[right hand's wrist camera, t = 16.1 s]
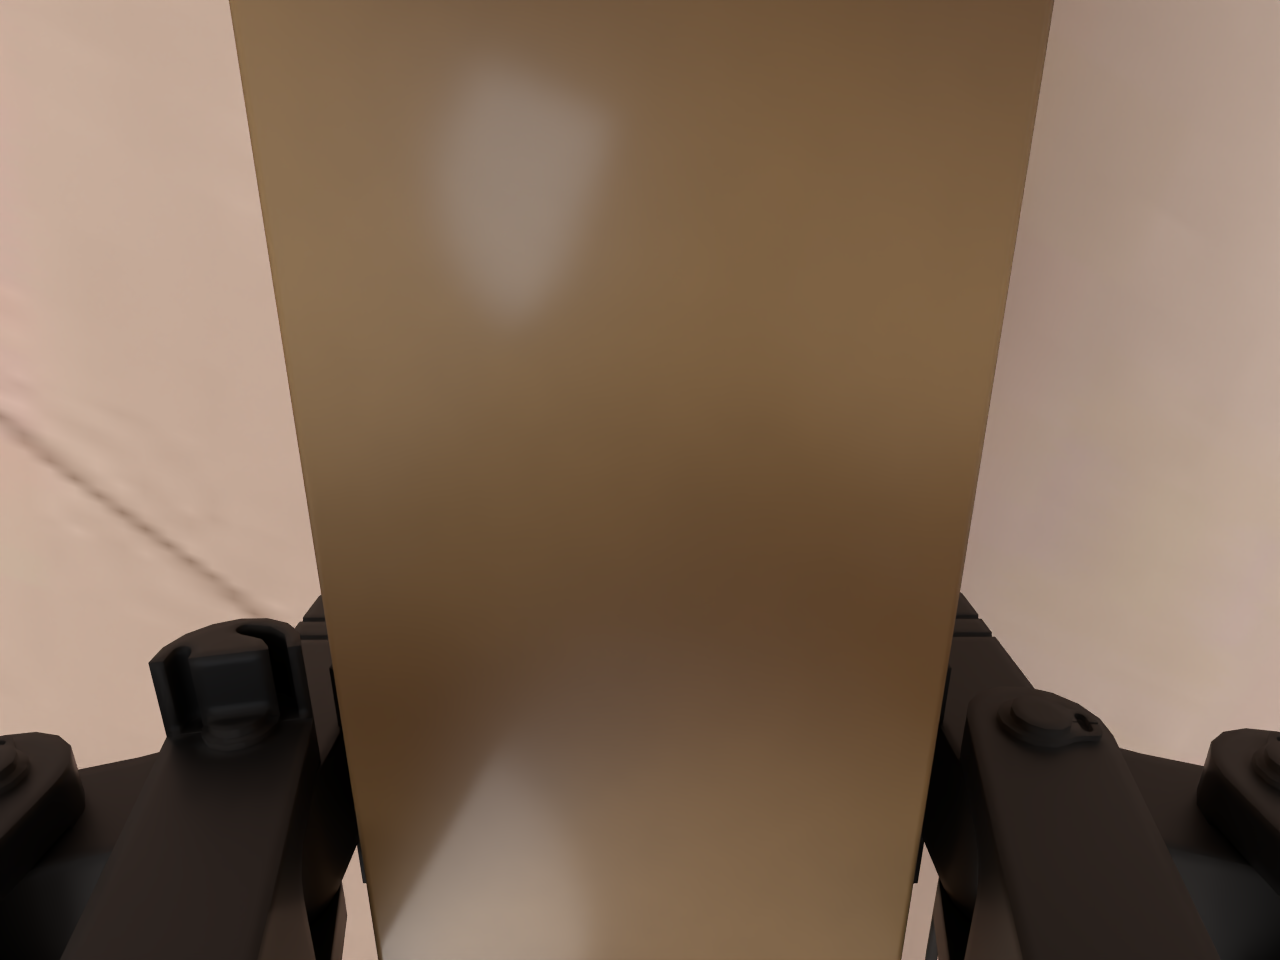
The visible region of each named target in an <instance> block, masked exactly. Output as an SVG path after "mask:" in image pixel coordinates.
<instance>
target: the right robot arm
mask: <svg viewBox="0 0 1280 960" xmlns="http://www.w3.org/2000/svg"><path fill="white" fill-rule="evenodd" d="M149 667H150V671H151V675H152V679H153V683H154V687H155V691H156V695H157V699H158V703H159V707H160V711H161V715H162V719H163V723H164V727H165V731H166V735H167V738H166V740H165V742H164V744H163V746H162V748H161V750H160V752H158V753H154V754H150V755H147V756H143V757H139V758H134V759H129V760H124V761H119V762H114V763H109V764H104V765H99V766H94V767H89V768H84V769H79V770H78V768H77V765H76V761H75V758H74V755H73V752H72V748H71V745H69V744H68V743H67V742H66V741H64V740H63V739H62V738H61V737H60V736H58V735H52V734H45V733H39V732H32V733H22V734H13V735H4V736H0V960H342V954H343V945H344V937H345V929H346V921H347V912H346V904H345V897H344V891H343V885H342V879H343V877H344V874H345V872H346V869H347V867H348V865H349V862H350V860H351V858H352V855H353V853H354V850H355V848H356V846H357V848H358V854H359V860H360V867H361V873H362V879H363V883H366V877H365V871H364V864H363V858H362V851H361V845H360V839H359V832H358V826H357V819H356V813H355V807H354V800H353V794H352V787H351V781H350V774H349V768H348V762H347V755H346V749H345V742H344V736H343V729H342V723H341V717H340V710H339V704H338V697H337V691H336V684H335V678H334V672H333V665H332V659H331V652H330V646H329V640H328V633H327V627H326V620H325V614H324V607H323V601H322V595H320V596H319V597H318V598H317V600H316V601H315V602H314V604H313V605H312V606H311V608H310V609H309V610H308V612H307V613H306V614H305V616H304V617H303V622H299V624H298V625H297V626H296V627H295V629H294V628H293V627H292V626H291V625H289V624H288V623H285V622H281V621H277V620H272V619H268V618H257V619H238V620H232V621H227V622H222V623H217V624H212V625H210V626H207V627H204V628H201V629H199V630H196V631H193V632H190V633H188V634H185V635H183V636H182V637H180V638H178V639H177V640H175V641H173V642H172V643H170V644H168V645H167V646H165V647H163V648H162V649H161V650H160V651H159V652H158V653H157V654H156V655H155V657H154V658H153V659H152V660H151V661H150V662H149ZM924 842H925V845H926V847H927V849H928V852H929V854H930V856H931V859H932V861H933V864H934V866H935V868H936V871H937V873H938V875H939V880H938V885H937V891H936V897H935V903H934V909H933V915H932V921H931V926H930V932H929V938H928V944H927V950H926V957H925V960H937V957H938V960H1280V732H1277V731H1266V730H1257V729H1247V728H1245V729H1239V730H1232V731H1226V732H1223V733H1222V734H1220V735H1219V736H1218V737H1217V738H1215V739H1214V740H1213V741H1212V742H1211V744H1210V748H1209V751H1208V754H1207V758H1206V761H1205V764H1204V766H1200V765H1195V764H1190V763H1185V762H1180V761H1175V760H1170V759H1165V758H1160V757H1155V756H1150V755H1145V754H1140V753H1137V752H1133V751H1129V750H1125V749H1121V748H1119V747H1118V744H1117V742H1116V740H1115V738H1114V736H1113V735H1112V734H1111V732H1110V731H1109V730H1108V728H1107V727H1106V726H1105V725H1104V723H1103V722H1102V721H1101V720H1100V719H1099V718H1098V717H1096V716H1095V715H1094V714H1092V713H1091V712H1089V711H1088V710H1086V709H1085V708H1084V707H1082V706H1081V705H1079V704H1077V703H1075V702H1073V701H1070V700H1068V699H1066V698H1063V697H1061V696H1058V695H1056V694H1054V693H1051V692H1046V691H1042V690H1037V689H1034V687H1033V686H1032V685H1031V683H1030V682H1029V681H1028V679H1027V678H1026V677H1025V676H1024V674H1023V673H1022V672H1021V670H1020V669H1019V668H1018V666H1017V665H1016V664H1015V662H1014V661H1013V660H1012V658H1011V657H1010V656H1009V654H1008V653H1007V652H1006V651H1005V649H1004V648H1003V647H1002V645H1001V644H1000V643H999V641H998V640H997V639H996V637H992V632H991V631H990V630H989V628H988V627H987V626H986V624H985V623H984V622H983V620H982V619H978V614H977V612H976V611H975V610H974V608H973V607H972V606H971V605H970V603H969V602H968V601H967V599H966V598H965V597H964V595H963V594H962V593H960V594H959V600H958V606H957V612H956V619H955V625H954V631H953V637H952V644H951V650H950V656H949V663H948V669H947V675H946V681H945V688H944V694H943V700H942V706H941V713H940V719H939V725H938V731H937V738H936V744H935V750H934V757H933V763H932V769H931V775H930V782H929V788H928V794H927V800H926V807H925V813H924V819H923V825H922V832H921V838H920V844H919V851H918V857H917V863H916V869H915V876H914V882H913V883H918V877H919V871H920V864H921V858H922V852H923V846H924Z"/></svg>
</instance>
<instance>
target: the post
mask: <svg viewBox="0 0 1280 960" xmlns="http://www.w3.org/2000/svg"><path fill="white" fill-rule="evenodd" d="M229 4H230V10H231V16H232V23H233V29H234V36H235V42H236V49H237V55H238V61H239V68H240V74H241V81H242V87H243V93H244V100H245V106H246V113H247V119H248V126H249V132H250V138H251V145H252V151H253V158H254V164H255V171H256V177H257V183H258V190H259V196H260V203H261V209H262V216H263V222H264V228H265V235H266V241H267V248H268V254H269V261H270V267H271V273H272V280H273V286H274V293H275V299H276V305H277V312H278V318H279V325H280V331H281V338H282V344H283V350H284V357H285V363H286V370H287V376H288V383H289V389H290V395H291V402H292V408H293V415H294V421H295V428H296V434H297V440H298V447H299V453H300V460H301V466H302V472H303V479H304V485H305V492H306V498H307V505H308V511H309V517H310V524H311V530H312V537H313V543H314V550H315V556H316V562H317V569H318V575H319V582H320V588H321V595H322V601H323V607H324V614H325V620H326V627H327V633H328V640H329V646H330V652H331V659H332V665H333V672H334V678H335V684H336V691H337V697H338V704H339V710H340V717H341V723H342V729H343V736H344V742H345V749H346V755H347V762H348V768H349V774H350V781H351V787H352V794H353V800H354V807H355V813H356V819H357V826H358V832H359V839H360V845H361V851H362V858H363V864H364V871H365V877H366V884H367V890H368V896H369V903H370V909H371V916H372V922H373V929H374V935H375V941H376V948H377V954H378V960H901V957H902V951H903V945H904V938H905V932H906V926H907V919H908V913H909V907H910V901H911V894H912V888H913V882H914V876H915V869H916V863H917V857H918V851H919V844H920V838H921V832H922V825H923V819H924V813H925V807H926V800H927V794H928V788H929V782H930V775H931V769H932V763H933V757H934V750H935V744H936V738H937V731H938V725H939V719H940V713H941V706H942V700H943V694H944V688H945V681H946V675H947V669H948V663H949V656H950V650H951V644H952V637H953V631H954V625H955V619H956V612H957V606H958V600H959V594H960V587H961V581H962V575H963V569H964V562H965V556H966V550H967V543H968V537H969V531H970V525H971V518H972V512H973V506H974V500H975V493H976V487H977V481H978V475H979V468H980V462H981V456H982V449H983V443H984V437H985V431H986V424H987V418H988V412H989V406H990V399H991V393H992V387H993V381H994V374H995V368H996V362H997V355H998V349H999V343H1000V337H1001V330H1002V324H1003V318H1004V312H1005V305H1006V299H1007V293H1008V287H1009V280H1010V274H1011V268H1012V261H1013V255H1014V249H1015V243H1016V236H1017V230H1018V224H1019V218H1020V211H1021V205H1022V199H1023V193H1024V186H1025V180H1026V174H1027V167H1028V161H1029V155H1030V149H1031V142H1032V136H1033V130H1034V124H1035V117H1036V111H1037V105H1038V99H1039V92H1040V86H1041V80H1042V73H1043V67H1044V61H1045V55H1046V48H1047V42H1048V36H1049V30H1050V23H1051V17H1052V11H1053V5H1054V0H229Z"/></svg>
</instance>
